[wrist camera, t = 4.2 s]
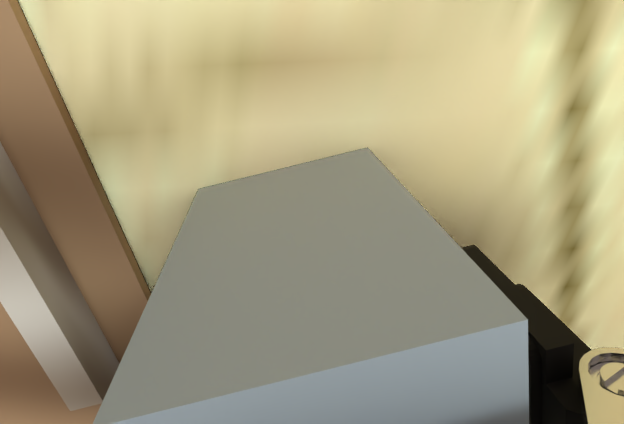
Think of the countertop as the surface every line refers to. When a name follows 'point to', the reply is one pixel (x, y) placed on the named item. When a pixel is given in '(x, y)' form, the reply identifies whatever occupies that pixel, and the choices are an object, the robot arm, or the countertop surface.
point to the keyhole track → (55, 251)
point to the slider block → (321, 312)
